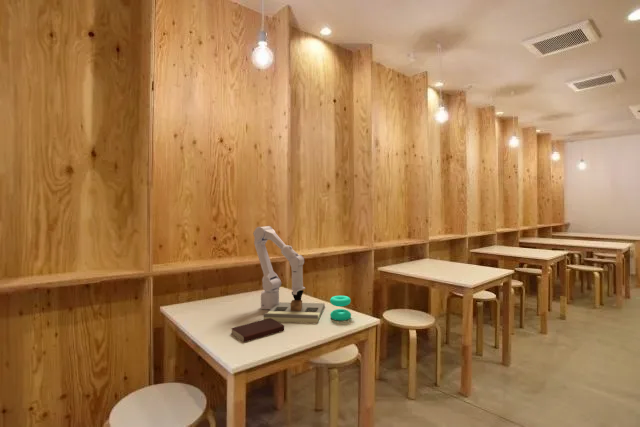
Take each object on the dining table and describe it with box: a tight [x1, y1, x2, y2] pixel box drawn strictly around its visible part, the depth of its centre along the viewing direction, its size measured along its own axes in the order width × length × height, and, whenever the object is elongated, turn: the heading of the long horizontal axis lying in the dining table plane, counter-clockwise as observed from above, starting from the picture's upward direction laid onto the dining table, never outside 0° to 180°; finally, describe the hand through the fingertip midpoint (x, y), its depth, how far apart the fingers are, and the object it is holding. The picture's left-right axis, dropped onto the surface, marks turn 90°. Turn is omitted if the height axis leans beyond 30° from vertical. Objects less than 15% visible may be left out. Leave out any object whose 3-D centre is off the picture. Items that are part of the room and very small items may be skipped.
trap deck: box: [262, 301, 326, 324], centre depth 170 cm, size 26×25×4 cm
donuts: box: [329, 295, 352, 322], centre depth 162 cm, size 10×10×10 cm
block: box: [290, 299, 303, 311], centre depth 170 cm, size 5×5×4 cm
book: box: [231, 318, 285, 343], centre depth 145 cm, size 12×19×3 cm, turn 129°
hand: (297, 305), depth 174 cm, fingers closed
